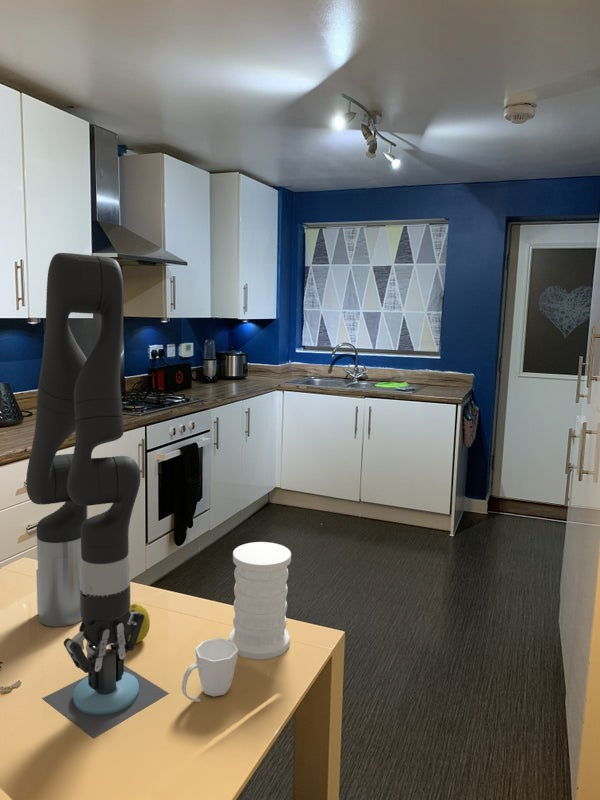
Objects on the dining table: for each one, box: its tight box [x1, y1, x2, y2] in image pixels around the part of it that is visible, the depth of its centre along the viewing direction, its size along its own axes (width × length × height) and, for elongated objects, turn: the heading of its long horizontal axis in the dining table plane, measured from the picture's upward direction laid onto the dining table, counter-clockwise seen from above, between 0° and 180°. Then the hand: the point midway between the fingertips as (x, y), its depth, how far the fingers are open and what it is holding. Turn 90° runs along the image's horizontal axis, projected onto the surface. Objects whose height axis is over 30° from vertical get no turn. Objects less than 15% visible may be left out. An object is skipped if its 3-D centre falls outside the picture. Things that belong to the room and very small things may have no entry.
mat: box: [41, 664, 170, 739], centre depth 99 cm, size 14×14×1 cm
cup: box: [181, 637, 238, 703], centre depth 100 cm, size 7×10×8 cm
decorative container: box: [228, 541, 292, 661], centre depth 116 cm, size 12×12×18 cm
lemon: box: [128, 603, 151, 644], centre depth 115 cm, size 6×6×8 cm
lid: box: [73, 648, 139, 716], centre depth 99 cm, size 10×10×7 cm
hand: (106, 683), depth 99 cm, fingers closed on lid, 3 cm apart
